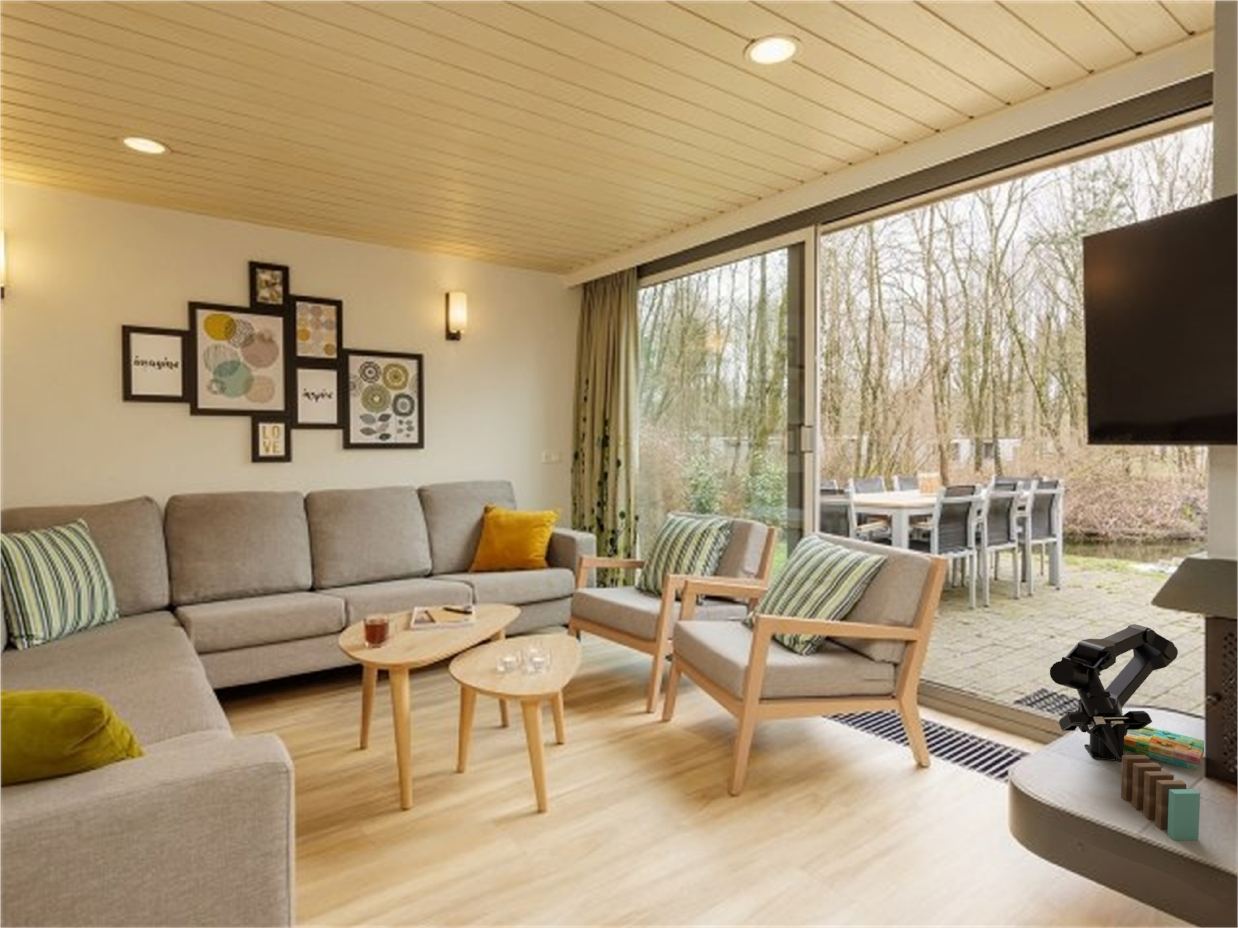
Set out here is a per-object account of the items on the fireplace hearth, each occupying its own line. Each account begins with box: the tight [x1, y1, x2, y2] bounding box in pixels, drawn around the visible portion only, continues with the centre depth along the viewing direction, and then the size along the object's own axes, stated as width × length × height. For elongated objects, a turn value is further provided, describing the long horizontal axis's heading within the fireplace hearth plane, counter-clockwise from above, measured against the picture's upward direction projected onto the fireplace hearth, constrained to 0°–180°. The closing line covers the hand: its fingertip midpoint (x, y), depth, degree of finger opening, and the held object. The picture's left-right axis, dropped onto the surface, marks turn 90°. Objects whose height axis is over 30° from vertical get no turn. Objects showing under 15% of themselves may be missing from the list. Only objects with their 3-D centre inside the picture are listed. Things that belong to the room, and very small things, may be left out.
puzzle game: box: [1123, 726, 1205, 771], centre depth 177 cm, size 12×5×20 cm
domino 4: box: [1154, 779, 1188, 831], centre depth 146 cm, size 2×5×10 cm, turn 88°
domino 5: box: [1166, 788, 1201, 841], centre depth 142 cm, size 2×5×10 cm, turn 88°
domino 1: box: [1120, 754, 1151, 802], centre depth 156 cm, size 2×5×10 cm, turn 88°
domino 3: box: [1142, 770, 1175, 821], centre depth 149 cm, size 2×5×10 cm, turn 88°
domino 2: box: [1131, 762, 1162, 811], centre depth 153 cm, size 2×5×10 cm, turn 88°
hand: (1120, 758), depth 160 cm, fingers closed
